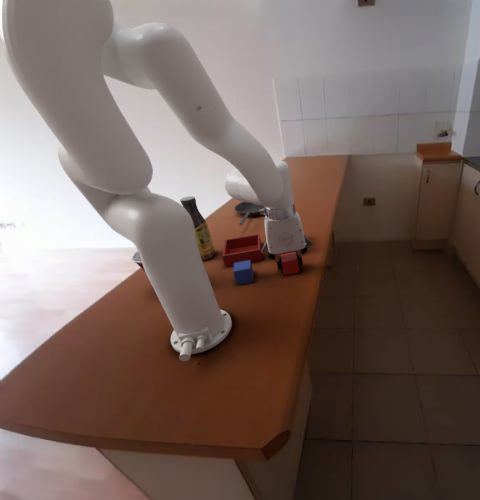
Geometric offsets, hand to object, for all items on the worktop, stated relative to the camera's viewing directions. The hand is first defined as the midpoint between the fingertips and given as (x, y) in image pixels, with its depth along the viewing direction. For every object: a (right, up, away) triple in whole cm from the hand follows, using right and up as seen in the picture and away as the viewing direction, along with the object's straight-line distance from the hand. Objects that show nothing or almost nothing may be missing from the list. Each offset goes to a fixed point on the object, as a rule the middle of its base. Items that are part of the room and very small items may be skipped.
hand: (290, 268), depth 81 cm
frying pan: (-22, +19, +37) cm, 47 cm away
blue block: (-12, -3, -2) cm, 13 cm away
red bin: (-16, +4, +10) cm, 19 cm away
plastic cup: (-34, -5, -3) cm, 34 cm away
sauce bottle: (-30, +3, +11) cm, 32 cm away
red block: (0, -1, 0) cm, 1 cm away
